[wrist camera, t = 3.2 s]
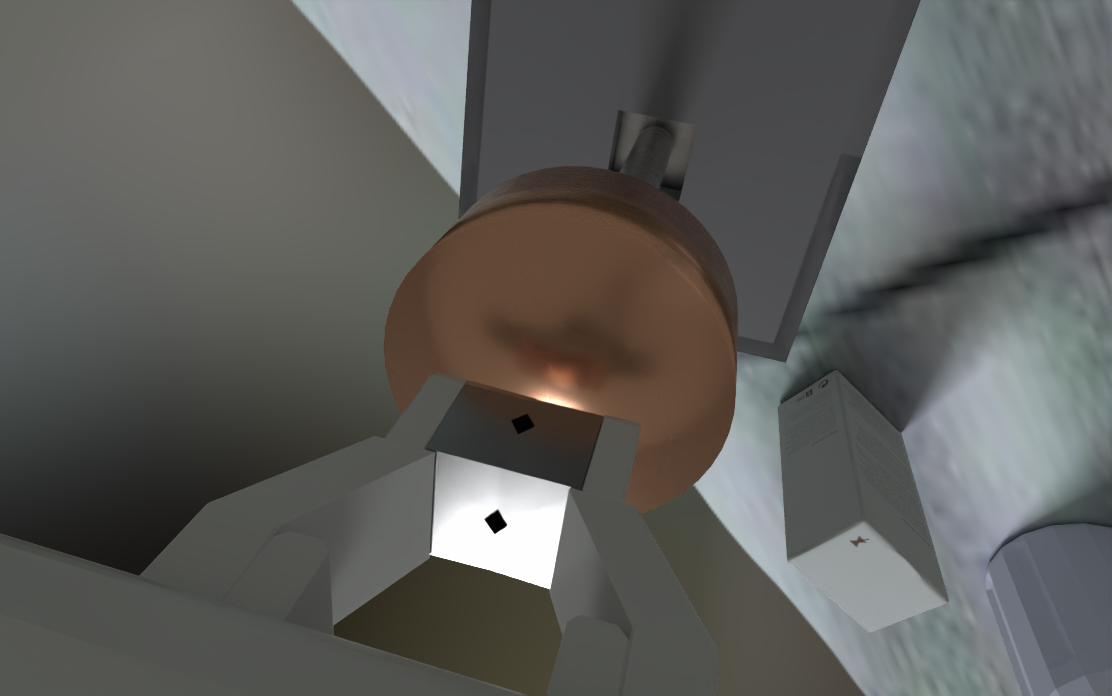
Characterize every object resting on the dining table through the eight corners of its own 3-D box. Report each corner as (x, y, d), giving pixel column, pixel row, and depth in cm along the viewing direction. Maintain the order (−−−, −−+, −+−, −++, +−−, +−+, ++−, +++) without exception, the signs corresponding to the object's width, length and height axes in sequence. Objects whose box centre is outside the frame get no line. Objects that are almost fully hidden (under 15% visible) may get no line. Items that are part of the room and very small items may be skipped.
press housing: (580, -95, 31) (477, -102, 19) (860, -50, 29) (931, -29, 18) (546, 170, 37) (454, 284, 26) (774, 218, 36) (785, 362, 24)
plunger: (535, -49, 22) (238, -1, 9) (854, 6, 20) (1021, 145, 8) (506, 239, 27) (291, 521, 14) (759, 295, 26) (768, 658, 13)
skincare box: (774, 405, 42) (781, 559, 32) (836, 365, 39) (865, 518, 29) (841, 470, 43) (869, 638, 33) (905, 435, 41) (955, 603, 31)
